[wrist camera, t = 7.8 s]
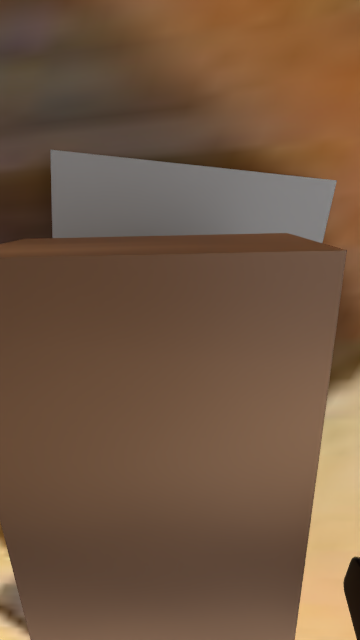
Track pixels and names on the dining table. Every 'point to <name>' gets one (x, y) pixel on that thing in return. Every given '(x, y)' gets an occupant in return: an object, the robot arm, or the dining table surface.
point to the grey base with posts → (180, 199)
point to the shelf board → (163, 430)
